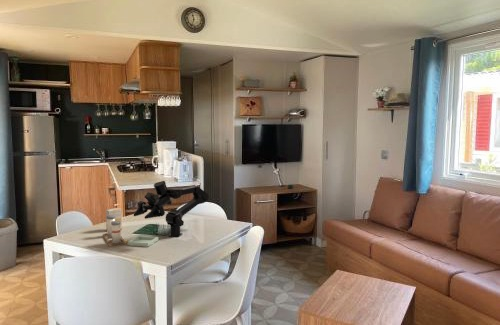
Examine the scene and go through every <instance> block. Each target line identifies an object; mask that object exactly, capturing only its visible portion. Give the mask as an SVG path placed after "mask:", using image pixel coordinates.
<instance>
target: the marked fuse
mask: <svg viewBox="0 0 500 325" xmlns="http://www.w3.org/2000/svg"><path fill="white" fill-rule="evenodd" d="M120 224H121V222H120V221H112V222H111V225H112V238H111V240H112V242H111V244H115V243H122V241H121V237H122V236H120V235H121V229H120Z"/></svg>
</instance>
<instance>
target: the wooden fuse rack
mask: <svg viewBox="0 0 500 325" xmlns="http://www.w3.org/2000/svg"><path fill="white" fill-rule="evenodd" d="M102 236H103V238H104V240H105V242H106V243H107V245H108V246H109V247H114V246H115V247H116V246H123V245H127V244H128V241H129V240H125V238H123V237H122V236H121V234H120V236H121V243H115V244H112V236H107V233H102Z"/></svg>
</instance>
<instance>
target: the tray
mask: <svg viewBox="0 0 500 325" xmlns="http://www.w3.org/2000/svg"><path fill="white" fill-rule="evenodd" d="M158 241H159V236H147V235H138V236H136V237H134V238H132V239H130V240H128V243H127V246H131V247H141V246H142V247H143V248H144V247H145V248H149V247H150V246H152V245H154V244H155V243H157V242H158Z"/></svg>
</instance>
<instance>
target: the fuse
mask: <svg viewBox="0 0 500 325" xmlns="http://www.w3.org/2000/svg"><path fill="white" fill-rule="evenodd" d="M112 221H115V215H108V216H107V227H106V232H107V235H106V237H107V236H112V225H111V222H112Z"/></svg>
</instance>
